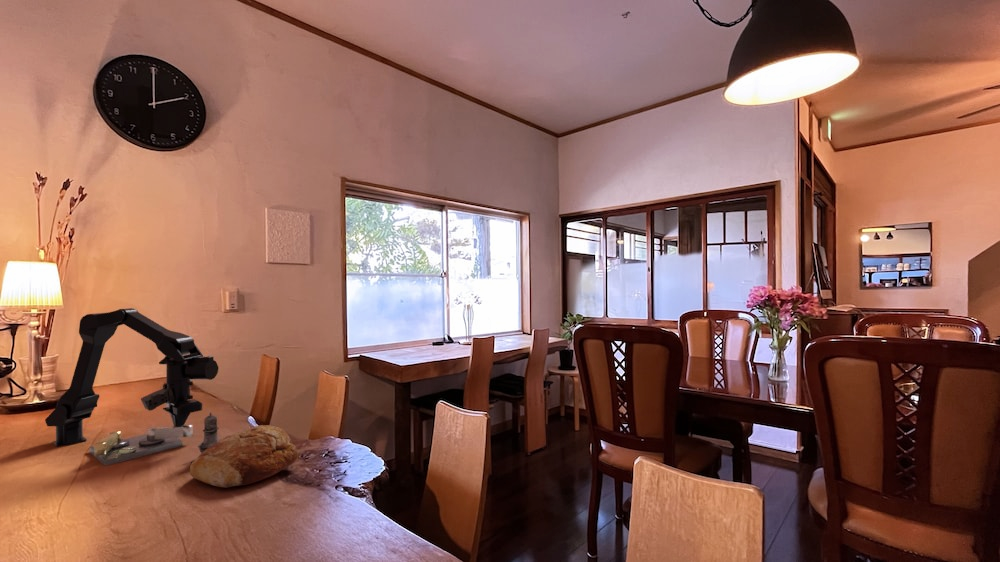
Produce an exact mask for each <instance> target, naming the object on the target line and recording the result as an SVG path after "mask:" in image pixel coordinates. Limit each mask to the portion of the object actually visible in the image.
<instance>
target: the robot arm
mask: <svg viewBox="0 0 1000 562" xmlns="http://www.w3.org/2000/svg"><path fill="white" fill-rule="evenodd" d="M123 325H125V326H126V327H128V328H129V329H131V330H133V331H134V332H136V333H137V334H140V335H141V336H142V337H145V338H146V339H148V340H149V341H151V342H153V343H154V344H155V346H156V348H157V350H158V351H159V352H160V353H162V354H163V355H164V357H163V359H161V360H160V361H159V362H158V364H159V365H165V366H166V371H165V372H166V381H165V382H163V384H162V388H161V389H158V390H156V391H154V392H152V393H149V394H147V395H145V396H142V397H141V398H140V401H141V402H142V404H143V406H144V408H145V410H147V411H150V412H151V411H153V410H155V409H156V408H157V407H160V406H162V405H164V404H165V407H163V408H162V410H163V411H165V412H167V413H168V414H169V416H170V418H171V421H172V423H173V426H183V425H186V424H185V423H186V422H187V420H188V418H189V416H190V415H191V414H192V413H195V412H196V413H197V412H200V411H203V403H202V402H201V401H199V400H198V399H196V398H195V399H194V398H193V397H194V395H192V394H191V386H193V385H194V382H193V381H191V380H201V381H202V380H205V381H206V380H207V381H208V380H209V381H211V380H214V379H215V378H216V376H217V375H218V373H219V364H218V362H217V361H216V360H215V359H214V356H213V355H208V356H204V354H203V353H202V352H201V351H200V349H199V347H198V346H197V345H196V343H195V340H194V338H193V337H192V336H190V335H187V334H184V333H181V332H180V331H179V332H178V331H174V330H170V329H167V327H164V326H162V325H160V324H159V323H157V322H155V321H154V320H152V319H150V318H149V317H147V316H145V315H144V314H142V313H140V312H139V311H138V310H137V309H136V308H134V307H133V308H132V307H131V308H119V309H117V310H113V311H109V312H100V313H99V312H98V313H88V314H85V315H84V316H82V317H81V318H80V320H79V325H78V327H79V328H78V334H79V336H80V338H81V340H82V344H81V348H80V350H79V355H78V358H77V361H76V364H75V368H74V372H73V375H72V379H71V381H70V386H69V388H68V389H67V390H65V392H64V393H63V394H62V395H61V396H60V397H59V399H58V400H57V403H56V405H55V408H54V409H53V410H52V412H50V414H49V415H48V416H47V417H46V418H45V420H44V421H45V424H46V426H47V427H55V440H53V441H52V442H51V443H52V444H53V446H55V447H56V448H60V447H65V446H70V444H71V445H74V444H79V443H83V442H86V441H88V440H87V438H86V437H85V436H83V435H84V433H83V430H84V427H83V425H84V424H83V422H84V421H83V420H85V419H89V418H91V417H92V412H93V411H94V410H95V408H97V407H98V401H99V398H100V394H98V393H95V390H94V388H93V387H94V383H95V379H96V376H97V373H98V370H99V366H100V362H101V358H102V356H103V351H104V349H105V346H106V343H107V342H108V341H109V339H111V338H112V337H113V336H114V335H115V333H116V331H117V329H118V327H119V326H123ZM59 446H60V447H59Z"/></svg>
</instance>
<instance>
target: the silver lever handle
mask: <svg viewBox="0 0 1000 562" xmlns="http://www.w3.org/2000/svg"><path fill="white" fill-rule="evenodd" d="M146 434H147V438H144V439H141V440H140V441H139V445H141V446H146V445H153V444H157V443H160V442H163V441H164V440H165V439H166V438H188V437H192V436H194V425H193V424H191V423H190V424H184V425H183V426H174V425H173V426H161V427H150V428H147V429H146Z"/></svg>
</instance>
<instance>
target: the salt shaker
mask: <svg viewBox="0 0 1000 562" xmlns="http://www.w3.org/2000/svg"><path fill="white" fill-rule="evenodd" d="M203 428H204V429H203V430H202V432H203V441H202V442H200V443H199V444H198V445H197V447H198V448H199V449H198V450H199V451H200V454H201V453H202V452H203V451H205V450H206V449H207V448H209V447H210V446H211V445H213V444H214V443H216V442H218V441H220V440H221V439H220V438H219V437H218V430H219V427H218V418H217V416H216V415H213V413H212V412H209V415H208V416H206V417H205V418H204V427H203Z"/></svg>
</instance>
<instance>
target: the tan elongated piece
mask: <svg viewBox="0 0 1000 562" xmlns="http://www.w3.org/2000/svg"><path fill="white" fill-rule="evenodd" d="M128 444H129V440H128V439H127V438H124V439H122V431H121V430H115V431H112V432H109V434H108V435H107V436H105V437H104V438H103V439H100V441H98V442H96V443H94V445H93V446H94V452H95V456H101V455H105V454H107V451H109V450H110V449H116V448H120V447H123V446H126V445H128Z"/></svg>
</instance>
